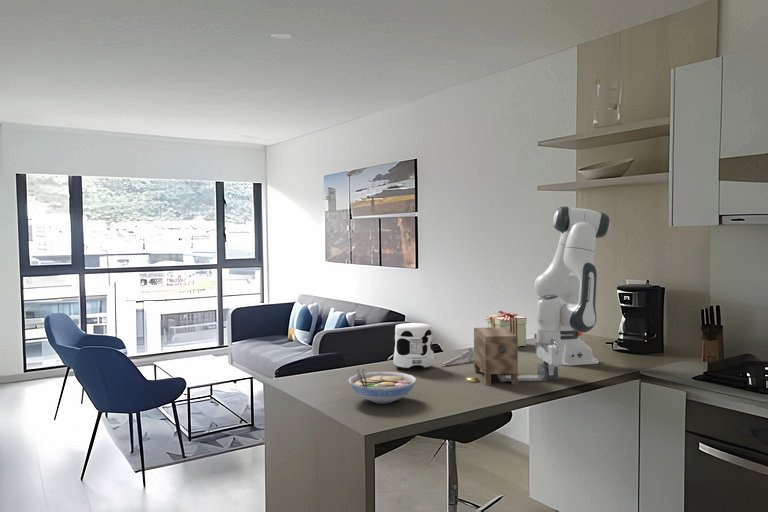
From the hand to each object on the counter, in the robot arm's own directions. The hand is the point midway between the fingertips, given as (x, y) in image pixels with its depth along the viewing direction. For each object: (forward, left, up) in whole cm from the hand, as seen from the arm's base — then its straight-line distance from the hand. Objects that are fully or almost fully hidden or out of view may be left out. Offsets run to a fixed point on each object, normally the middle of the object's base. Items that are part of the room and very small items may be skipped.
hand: (548, 373), depth 224 cm
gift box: (-1, -72, -3) cm, 72 cm away
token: (+30, 0, -3) cm, 30 cm away
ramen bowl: (+65, +26, -2) cm, 70 cm away
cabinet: (+20, -4, -2) cm, 20 cm away
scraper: (+8, 0, -2) cm, 8 cm away
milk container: (+50, -24, -2) cm, 55 cm away
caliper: (+30, -31, -3) cm, 44 cm away
